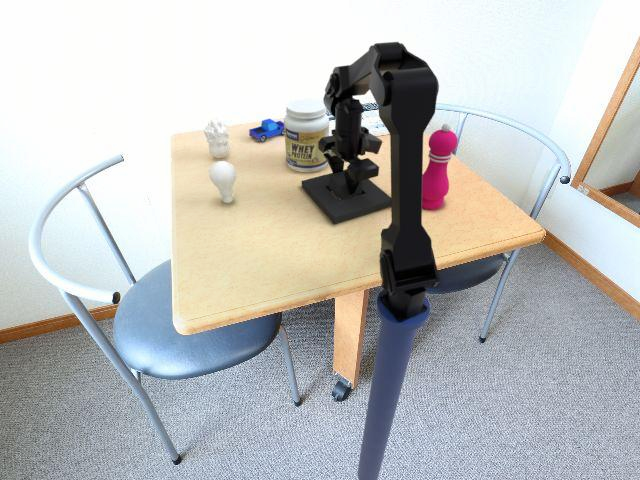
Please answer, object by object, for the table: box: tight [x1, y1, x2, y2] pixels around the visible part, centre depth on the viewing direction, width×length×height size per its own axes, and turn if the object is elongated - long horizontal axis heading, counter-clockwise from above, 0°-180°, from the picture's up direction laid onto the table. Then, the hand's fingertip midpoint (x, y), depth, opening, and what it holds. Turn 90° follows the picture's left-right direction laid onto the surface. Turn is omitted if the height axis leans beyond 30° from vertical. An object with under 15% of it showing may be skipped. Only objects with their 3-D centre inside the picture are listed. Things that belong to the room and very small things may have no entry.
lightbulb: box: [208, 160, 237, 204], centre depth 87 cm, size 6×6×11 cm
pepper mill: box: [422, 122, 459, 211], centre depth 84 cm, size 7×7×20 cm
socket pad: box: [300, 168, 391, 225], centre depth 92 cm, size 18×16×2 cm
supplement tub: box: [283, 98, 330, 173], centre depth 101 cm, size 12×12×17 cm
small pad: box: [329, 170, 363, 201], centre depth 90 cm, size 6×6×4 cm
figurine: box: [203, 117, 231, 159], centre depth 106 cm, size 7×7×12 cm
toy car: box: [248, 118, 285, 143], centre depth 119 cm, size 7×12×5 cm, turn 127°
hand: (345, 187), depth 91 cm, fingers closed on small pad, 6 cm apart
